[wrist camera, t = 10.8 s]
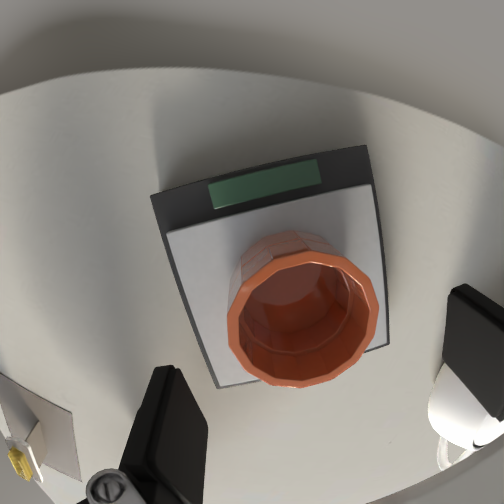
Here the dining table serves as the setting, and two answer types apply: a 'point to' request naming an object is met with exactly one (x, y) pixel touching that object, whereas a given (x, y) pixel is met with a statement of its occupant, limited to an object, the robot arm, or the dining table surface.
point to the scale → (264, 224)
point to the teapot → (459, 418)
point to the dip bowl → (299, 310)
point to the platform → (37, 433)
